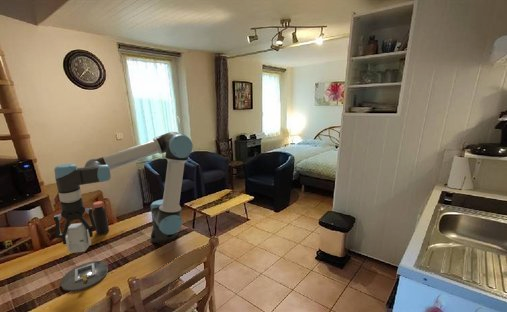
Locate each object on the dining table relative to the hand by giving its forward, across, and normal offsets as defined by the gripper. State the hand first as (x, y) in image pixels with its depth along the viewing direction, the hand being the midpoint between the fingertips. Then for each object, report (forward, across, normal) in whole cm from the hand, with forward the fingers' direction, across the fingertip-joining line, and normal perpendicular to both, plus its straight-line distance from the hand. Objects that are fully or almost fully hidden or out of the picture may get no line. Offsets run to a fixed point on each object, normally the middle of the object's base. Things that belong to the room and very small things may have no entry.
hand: (79, 246), depth 107 cm
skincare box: (+2, 0, 0) cm, 2 cm away
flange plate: (+16, 0, 0) cm, 16 cm away
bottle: (+16, -10, -41) cm, 45 cm away
